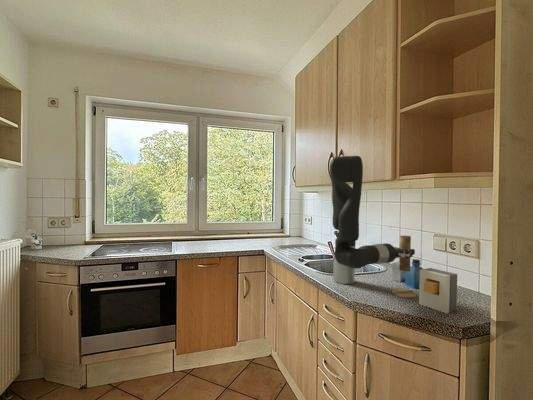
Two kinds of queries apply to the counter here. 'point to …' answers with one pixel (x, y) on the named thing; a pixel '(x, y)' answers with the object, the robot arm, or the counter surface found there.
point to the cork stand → (404, 293)
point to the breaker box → (447, 290)
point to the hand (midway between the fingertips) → (408, 250)
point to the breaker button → (431, 286)
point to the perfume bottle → (413, 275)
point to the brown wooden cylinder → (404, 263)
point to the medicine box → (397, 273)
